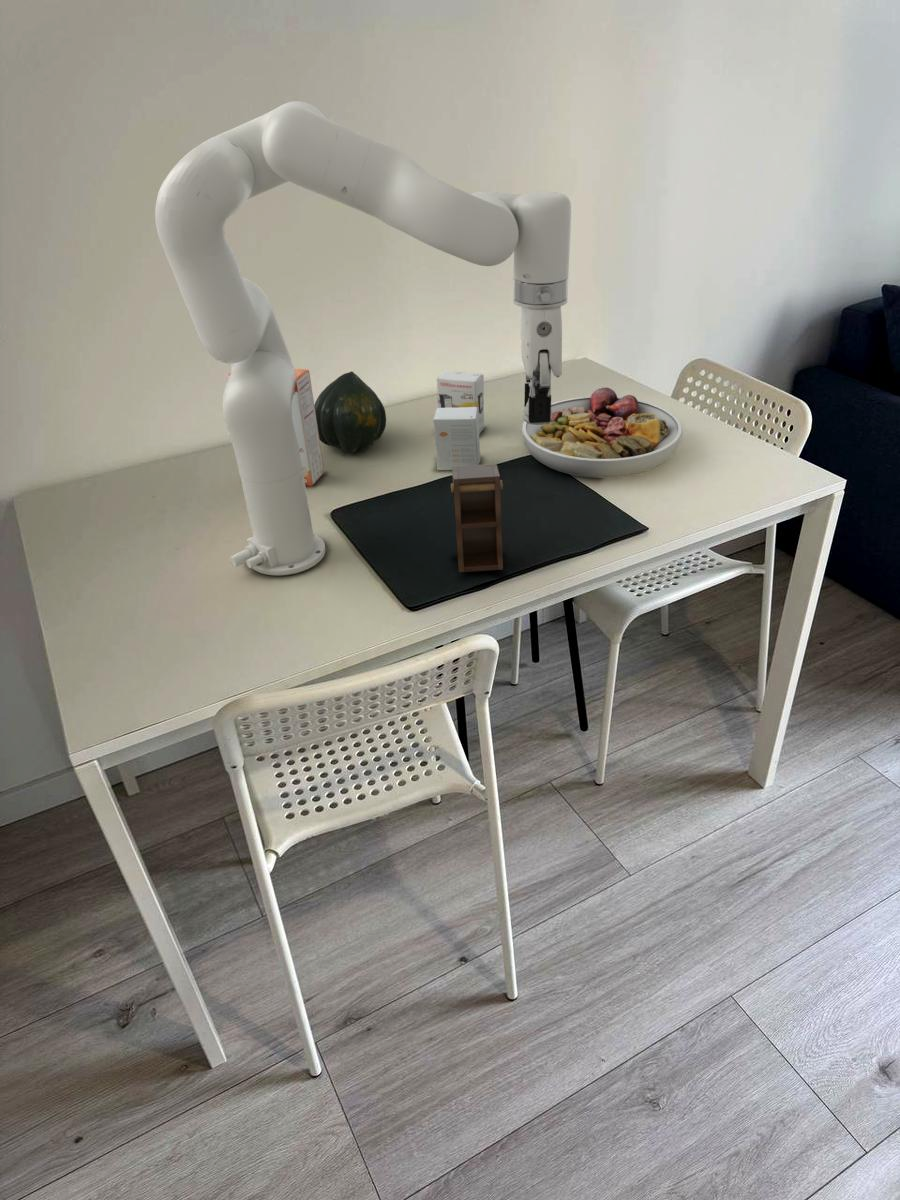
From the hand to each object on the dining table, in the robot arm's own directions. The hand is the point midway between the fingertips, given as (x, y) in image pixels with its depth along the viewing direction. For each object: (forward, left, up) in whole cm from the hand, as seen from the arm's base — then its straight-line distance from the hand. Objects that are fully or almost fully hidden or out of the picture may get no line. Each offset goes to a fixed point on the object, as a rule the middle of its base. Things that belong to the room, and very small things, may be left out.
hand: (537, 413), depth 130 cm
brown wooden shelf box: (-10, +4, -14) cm, 17 cm away
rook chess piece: (0, 0, -1) cm, 1 cm away
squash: (+6, +52, -22) cm, 57 cm away
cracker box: (-12, +51, -22) cm, 57 cm away
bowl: (+33, +10, -22) cm, 41 cm away
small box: (+12, +28, -22) cm, 38 cm away
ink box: (+24, +38, -22) cm, 51 cm away
